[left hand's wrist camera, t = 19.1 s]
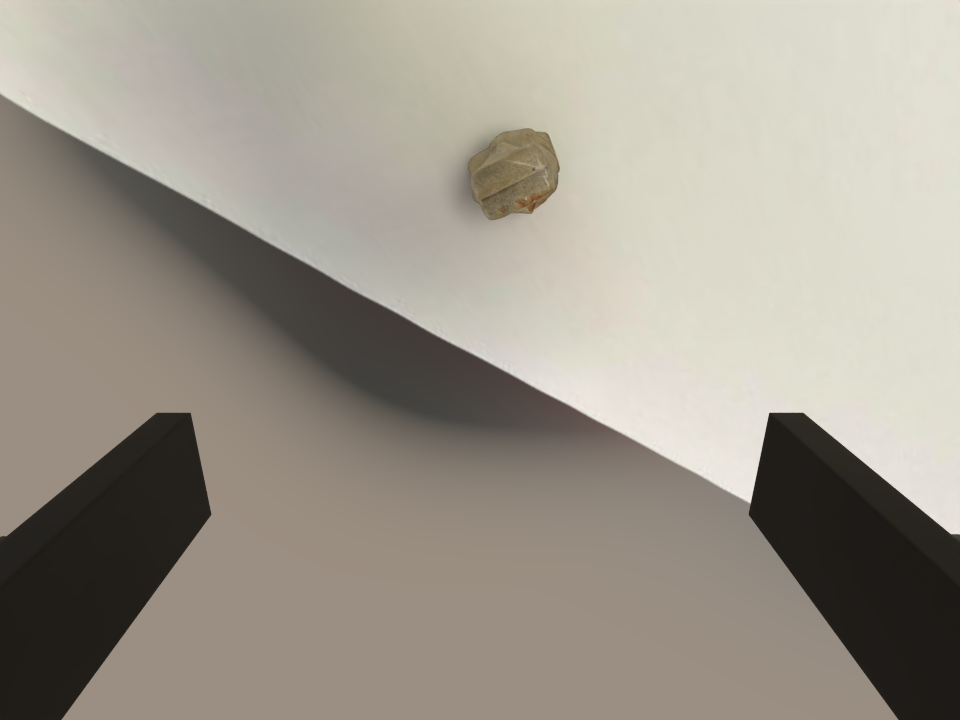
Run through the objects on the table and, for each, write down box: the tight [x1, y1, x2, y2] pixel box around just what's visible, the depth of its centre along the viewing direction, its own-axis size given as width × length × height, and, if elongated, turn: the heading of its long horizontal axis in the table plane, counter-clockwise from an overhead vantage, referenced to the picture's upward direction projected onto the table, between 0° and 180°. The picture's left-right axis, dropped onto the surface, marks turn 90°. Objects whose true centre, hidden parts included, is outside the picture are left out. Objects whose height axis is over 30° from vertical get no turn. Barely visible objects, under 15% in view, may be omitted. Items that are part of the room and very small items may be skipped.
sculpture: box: [469, 129, 560, 220], centre depth 42 cm, size 6×7×15 cm
